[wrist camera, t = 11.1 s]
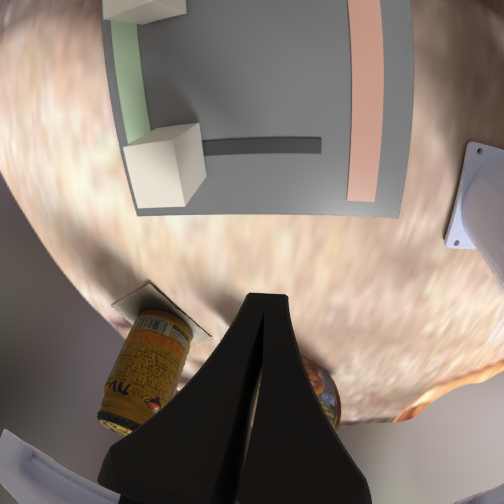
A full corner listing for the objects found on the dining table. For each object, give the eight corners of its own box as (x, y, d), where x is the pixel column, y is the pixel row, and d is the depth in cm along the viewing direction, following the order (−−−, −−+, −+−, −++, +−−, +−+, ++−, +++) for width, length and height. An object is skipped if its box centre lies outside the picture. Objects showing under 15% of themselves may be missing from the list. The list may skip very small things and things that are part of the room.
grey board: (388, -52, 7) (399, -64, 5) (389, 202, 17) (398, 219, 15) (117, -28, 9) (99, -34, 7) (149, 202, 19) (136, 217, 17)
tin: (342, 380, 30) (344, 446, 23) (320, 388, 31) (319, 451, 25) (248, 318, 25) (232, 405, 18) (226, 331, 26) (206, 411, 20)
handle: (199, 122, 13) (173, 139, 10) (206, 176, 15) (185, 206, 12) (156, 128, 13) (123, 147, 11) (166, 179, 15) (137, 208, 12)
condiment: (167, 351, 30) (134, 445, 21) (111, 304, 27) (60, 401, 17) (213, 337, 27) (183, 451, 18) (151, 280, 24) (90, 402, 14)
